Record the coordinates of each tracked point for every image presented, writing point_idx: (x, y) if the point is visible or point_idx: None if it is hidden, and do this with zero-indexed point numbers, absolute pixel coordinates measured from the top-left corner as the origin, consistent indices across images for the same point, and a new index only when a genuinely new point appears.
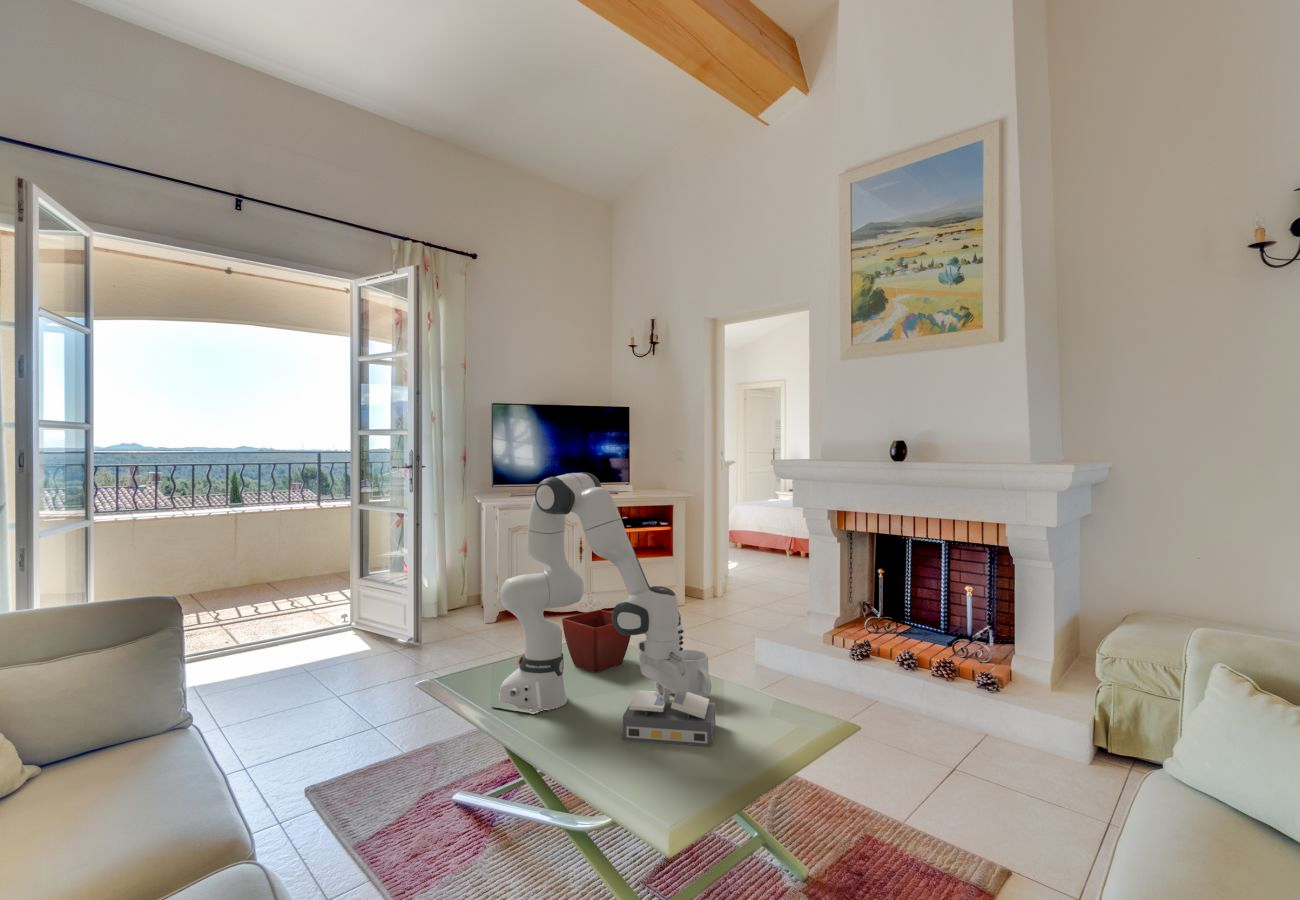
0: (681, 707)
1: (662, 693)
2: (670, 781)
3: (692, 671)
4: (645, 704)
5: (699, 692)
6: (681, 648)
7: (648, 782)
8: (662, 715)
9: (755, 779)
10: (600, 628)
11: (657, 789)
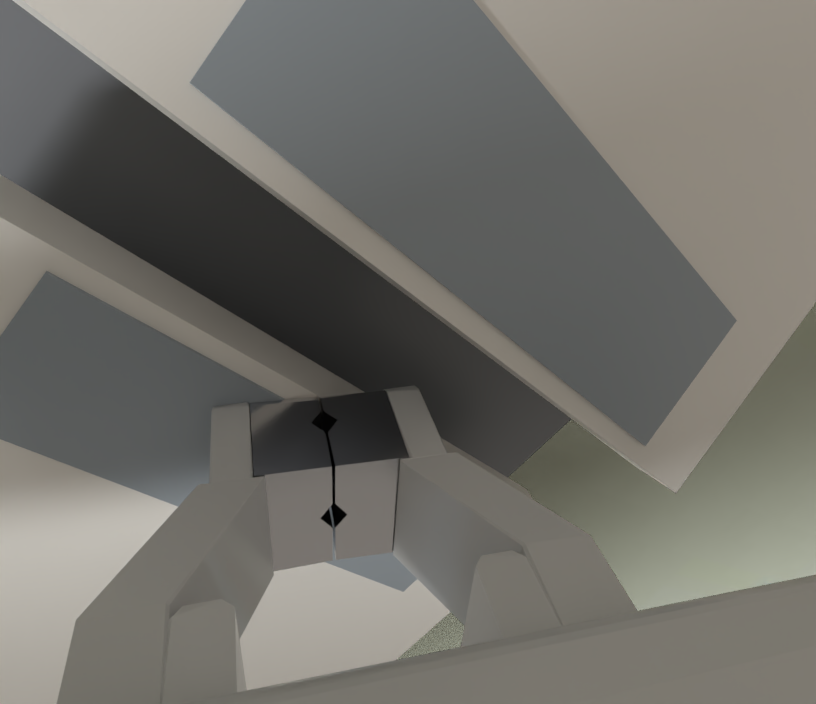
0: (767, 367)
1: (291, 530)
2: (787, 453)
3: None
4: (329, 656)
5: None
6: None
7: (715, 529)
8: (451, 431)
9: None
10: None
11: (777, 513)
